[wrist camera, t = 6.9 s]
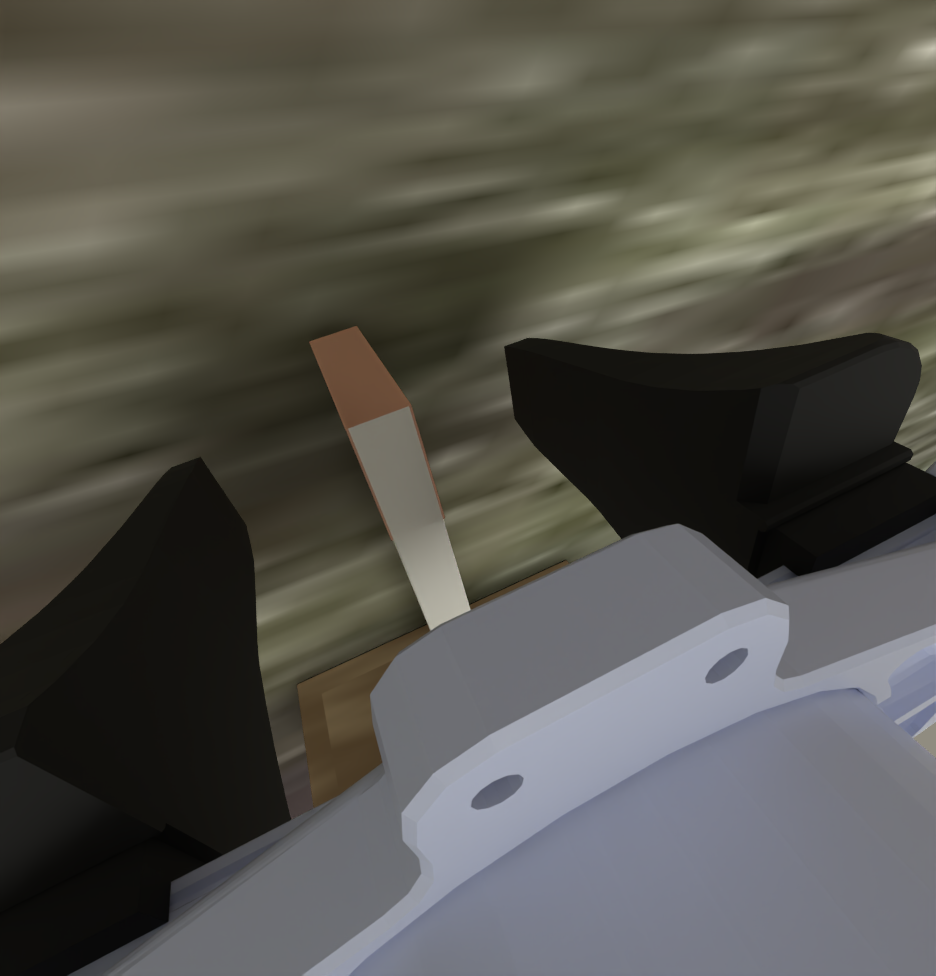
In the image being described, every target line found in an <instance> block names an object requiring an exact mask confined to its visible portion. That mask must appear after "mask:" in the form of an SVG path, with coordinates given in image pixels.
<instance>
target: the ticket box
mask: <svg viewBox="0 0 936 976" xmlns="http://www.w3.org/2000/svg"><path fill="white" fill-rule="evenodd" d="M568 564H569V563H568V562H567V560H566V561H563V562H561V563H559V564H557V565H555V566H553V567H550V568H548V569H546V570H544V571H542V572H540V573H537V574H535V575H533V576H531V577H529V578H527V579H525V580H522V581H520V582H518V583H516V584H514V585H512V586H509V587H507V588H505V589H503V590H501V591H499V592H496V593H494V594H492V595H490V596H488V597H486V598H483V599H481V600H479V601H477V602H475V603H473V604H470V605H469V606H470V609H471V610H472V609H474V608H476V607H478V606H480V605H482V604H484V603H487V602H489V601H491V600H493V599H495V598H497V597H499V596H501V595H504V594H506V593H508V592H510V591H512V590H514V589H516V588H519V587H521V586H523V585H525V584H527V583H529V582H531V581H534V580H536V579H538V578H540V577H542V576H544V575H546V574H548V573H551V572H553V571H555V570H557V569H559V568H561V567H563V566H566V565H568ZM429 631H430V629H429V627H428V624H427V625H425V626H423V627H421V628H419V629H416V630H414V631H412V632H410V633H408V634H406V635H403V636H401V637H399V638H397V639H395V640H393V641H390V642H388V643H386V644H384V645H382V646H380V647H378V648H375V649H373V650H371V651H369V652H367V653H365V654H362V655H360V656H358V657H356V658H354V659H352V660H349V661H347V662H345V663H343V664H341V665H339V666H336V667H334V668H332V669H330V670H328V671H326V672H323V673H321V674H319V675H317V676H315V677H313V678H310V679H308V680H306V681H304V682H302V683H300V684H298V685H297V689H298V696H299V704H300V711H301V718H302V726H303V733H304V740H305V748H306V755H307V763H308V770H309V777H310V785H311V792H312V799H313V807H314V808H315V807H317V806H319V805H321V804H323V803H325V802H327V801H329V800H331V799H333V798H335V797H337V796H338V795H340V794H341V793H343V792H344V791H345V790H347V789H348V788H349V787H351V786H352V785H353V784H355V783H356V782H357V781H359V780H360V779H361V778H363V777H364V776H365V775H367V774H368V773H369V772H371V771H372V770H373V769H375V768H376V767H377V766H379V765H380V764H381V763H383V762H382V758H381V754H380V751H379V747H378V743H377V739H376V735H375V731H374V727H373V722H372V712H371V701H370V694H371V692H372V691H373V689H374V688H375V686H376V685H377V683H378V682H379V680H380V679H381V677H382V676H383V674H384V673H385V671H386V670H387V668H388V667H389V666H390V664H391V663H392V661H393V660H394V658H395V657H396V656H397V654H398V653H399V652H400V651H401V650H403V649H404V648H406V647H407V646H409V645H410V644H412V643H413V642H415V641H416V640H418V639H419V638H420V637H422V636H423V635H425V634H426V633H428V632H429Z"/></svg>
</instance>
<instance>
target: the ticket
mask: <svg viewBox="0 0 936 976" xmlns="http://www.w3.org/2000/svg"><path fill="white" fill-rule="evenodd" d="M309 343H310V345H311V348H312V350H313V352H314V355H315V357H316V360H317V362H318V365H319V367H320V369H321V372H322V374H323V377H324V379H325V381H326V384H327V386H328V389H329V391H330V394H331V396H332V398H333V401H334V403H335V406H336V408H337V410H338V413H339V415H340V418H341V420H342V423H343V425H344V427H345V430H346V432H347V435H348V437H349V439H350V442H351V444H352V447H353V449H354V452H355V454H356V456H357V459H358V461H359V464H360V466H361V468H362V471H363V473H364V476H365V478H366V480H367V483H368V485H369V488H370V490H371V493H372V495H373V497H374V500H375V502H376V505H377V507H378V509H379V512H380V514H381V517H382V519H383V521H384V524H385V526H386V529H387V531H388V533H389V536H390V538H391V541H392V540H393V542H394V544H395V547H396V549H397V551H398V554H399V556H400V559H401V561H402V564H403V566H404V568H405V571H406V573H407V576H408V578H409V581H410V583H411V585H412V588H413V590H414V593H415V595H416V598H417V600H418V602H419V605H420V607H421V610H422V612H423V615H424V617H425V619H426V622H427V624H428V627H429V629H430V631H431V630H432V629H434V628H435V627H437V626H438V625H440V624H442V623H444V622H446V621H448V620H450V619H452V618H455V617H457V616H459V615H461V614H463V613H465V612H467V611H469V610H471V609H470V606H469V603H468V599H467V596H466V593H465V589H464V586H463V583H462V580H461V576H460V573H459V570H458V566H457V563H456V560H455V557H454V553H453V550H452V547H451V543H450V540H449V537H448V533H447V530H446V527H445V524H444V520H443V519H444V518H445V516H444V513H443V509H442V506H441V503H440V499H439V496H438V493H437V489H436V486H435V483H434V479H433V476H432V472H431V469H430V466H429V462H428V459H427V456H426V452H425V449H424V446H423V442H422V439H421V436H420V432H419V429H418V426H417V422H416V419H415V416H414V412H413V409H412V406H411V404H410V402H409V401H408V400H407V398H406V397H405V395H404V394H403V392H402V391H401V389H400V388H399V386H398V385H397V384H396V382H395V381H394V379H393V378H392V376H391V375H390V373H389V372H388V371H387V369H386V368H385V366H384V365H383V363H382V362H381V360H380V359H379V358H378V356H377V355H376V353H375V352H374V350H373V349H372V347H371V346H370V345H369V343H368V342H367V340H366V339H365V337H364V336H363V334H362V333H361V331H360V330H359V329H358V327H357V326H354V327H351V328H348V329H345V330H342V331H339V332H336V333H333V334H330V335H327V336H324V337H321V338H318V339H315V340H312V341H309Z"/></svg>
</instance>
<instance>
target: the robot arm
mask: <svg viewBox="0 0 936 976" xmlns="http://www.w3.org/2000/svg"><path fill="white" fill-rule="evenodd" d="M504 348H505V355H506V361H507V368H508V375H509V382H510V389H511V396H512V402H513V409H514V416H515V420H516V421H517V423H518V424H519V425H520V427H521V428H522V430H523V431H524V432H525V434H526V435H527V437H528V438H529V439H530V440H531V442H532V443H533V444H534V446H535V447H536V448H537V449H538V450H539V451H540V452H541V453H542V454H543V455H544V456H545V457H546V458H547V459H548V460H549V461H550V462H551V463H552V464H553V465H554V466H555V467H556V468H557V469H558V470H559V471H560V472H561V473H562V474H563V475H564V476H565V477H566V478H567V479H568V480H569V481H570V482H571V483H572V484H573V485H574V486H576V487H577V488H578V489H579V490H580V491H581V492H582V493H583V494H584V495H585V496H586V497H587V498H588V499H589V500H590V501H591V503H592V504H593V505H594V506H595V507H596V508H597V509H598V510H599V511H600V513H601V514H602V515H603V516H604V518H605V519H606V520H607V521H608V523H609V524H610V525H611V526H612V528H613V529H614V530H615V531H616V533H617V534H618V535H619V536H620V538H621V540H619V541H617V542H615V543H612V544H610V545H608V546H606V547H604V548H602V549H600V550H598V551H595V552H593V553H591V554H589V555H587V556H585V557H583V558H580V559H578V560H576V561H574V562H572V563H570V564H568V565H566V566H563V567H561V568H559V569H557V570H555V571H553V572H551V573H548V574H546V575H544V576H542V577H540V578H538V579H536V580H534V581H531V582H529V583H527V584H525V585H523V586H521V587H519V588H516V589H514V590H512V591H510V592H508V593H506V594H504V595H501V596H499V597H497V598H495V599H493V600H491V601H489V602H487V603H484V604H482V605H480V606H478V607H476V608H474V609H472V610H469V611H467V612H465V613H463V614H461V615H459V616H457V617H455V618H452V619H450V620H448V621H446V622H444V623H442V624H440V625H438V626H437V627H435V628H434V629H432V630H431V631H429V632H428V633H426V634H425V635H423V636H422V637H420V638H419V639H418V640H416V641H415V642H413V643H412V644H410V645H409V646H407V647H406V648H404V649H403V650H401V651H400V652H399V653H398V654H397V656H396V657H395V658H394V660H393V661H392V663H391V664H390V666H389V667H388V668H387V670H386V671H385V673H384V674H383V676H382V677H381V679H380V680H379V682H378V683H377V685H376V686H375V688H374V689H373V691H372V692H371V694H370V701H371V712H372V722H373V727H374V731H375V735H376V739H377V743H378V747H379V751H380V754H381V758H382V762H383V763H381V764H380V765H379V766H377V767H376V768H375V769H373V770H372V771H371V772H369V773H368V774H367V775H365V776H364V777H363V778H361V779H360V780H359V781H357V782H356V783H355V784H353V785H352V786H351V787H349V788H348V789H347V790H345V791H344V792H343V793H341V794H340V795H338V796H337V797H335V798H333V799H331V800H329V801H327V802H325V803H323V804H321V805H319V806H317V807H315V808H313V809H311V810H309V811H308V812H306V813H304V814H302V815H300V816H298V817H296V818H294V819H292V820H291V817H290V813H289V809H288V805H287V801H286V797H285V793H284V788H283V784H282V779H281V775H280V770H279V766H278V761H277V757H276V752H275V748H274V743H273V738H272V732H271V727H270V722H269V717H268V712H267V707H266V701H265V695H264V689H263V683H262V678H261V672H260V666H259V656H258V645H257V620H256V593H255V572H254V559H253V554H252V549H251V544H250V540H249V535H248V531H247V526H246V524H245V523H244V521H243V520H242V518H241V517H240V515H239V514H238V512H237V511H236V509H235V508H234V506H233V505H232V503H231V502H230V500H229V499H228V497H227V496H226V494H225V493H224V491H223V490H222V488H221V487H220V485H219V484H218V482H217V481H216V479H215V478H214V476H213V475H212V473H211V472H210V470H209V469H208V468H207V466H206V465H205V463H204V462H203V460H202V459H201V457H199V458H196V459H194V460H191V461H188V462H185V463H183V464H180V465H177V466H174V467H172V468H170V469H169V470H168V471H167V472H166V473H165V474H164V475H163V476H162V477H161V479H160V480H159V481H158V482H157V483H156V484H155V486H154V487H153V488H152V489H151V491H150V492H149V493H148V494H147V496H146V497H145V498H144V499H143V501H142V502H141V503H140V504H139V506H138V507H137V508H136V509H135V511H134V512H133V513H132V514H131V516H130V517H129V518H128V519H127V521H126V522H125V523H124V524H123V526H122V527H121V528H120V529H119V530H118V531H117V533H116V534H115V535H114V536H113V537H112V538H111V539H110V541H109V542H108V543H107V544H106V545H105V546H104V547H103V549H102V550H101V551H100V552H99V553H98V554H97V555H96V557H95V558H94V559H93V560H92V561H91V562H90V563H89V564H88V565H87V567H86V568H85V569H84V570H83V571H82V572H81V573H80V574H79V575H78V576H77V577H76V578H75V579H74V580H73V581H72V582H71V583H70V584H69V585H68V586H67V587H66V588H65V589H64V590H63V591H61V592H60V593H59V594H58V595H57V596H56V597H55V598H54V599H53V600H52V601H51V602H50V603H49V604H48V605H47V606H46V607H44V608H43V609H42V610H41V611H40V612H39V613H38V614H37V615H35V616H34V617H33V618H32V619H31V620H29V621H28V622H27V623H26V624H24V625H23V626H22V627H21V628H20V629H18V630H17V631H16V632H15V633H14V634H12V635H11V636H10V637H9V638H8V639H6V640H5V641H4V642H3V643H2V644H0V976H936V758H935V757H934V756H933V755H932V754H931V753H929V752H928V751H927V750H926V749H925V748H924V747H922V746H921V745H920V744H919V743H918V742H917V741H916V740H914V739H913V738H914V737H915V736H917V735H918V734H919V733H921V732H922V731H924V730H925V729H926V728H928V727H929V726H930V725H932V724H933V723H935V722H936V461H935V462H934V463H933V464H932V465H931V466H930V467H929V468H928V469H927V470H926V471H923V470H920V469H918V468H916V467H914V466H912V465H910V464H908V463H906V462H907V461H909V460H911V458H912V456H913V453H912V451H911V449H909V448H907V447H905V446H902V445H900V444H898V443H896V442H894V439H895V437H896V435H897V433H898V431H899V428H900V426H901V424H902V422H903V420H904V417H905V415H906V413H907V411H908V409H909V406H910V404H911V402H912V400H913V398H914V395H915V392H916V389H917V387H918V384H919V381H920V375H921V367H922V365H921V361H920V357H919V352H918V349H916V348H915V347H914V346H913V345H912V344H911V343H909V342H906V341H902V340H899V339H896V338H892V337H889V336H886V335H882V334H878V333H864V334H858V335H853V336H847V337H842V338H836V339H831V340H825V341H820V342H814V343H809V344H803V345H796V346H789V347H781V348H773V349H765V350H755V351H744V352H729V353H709V354H668V353H646V352H635V351H625V350H616V349H608V348H601V347H594V346H588V345H581V344H575V343H569V342H562V341H556V340H548V339H539V338H526V339H524V340H521V341H518V342H515V343H513V344H510V345H507V346H504Z"/></svg>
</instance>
